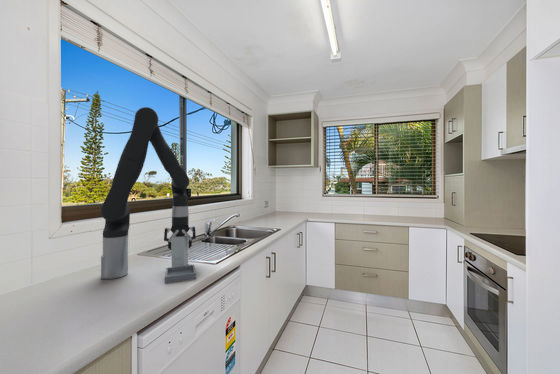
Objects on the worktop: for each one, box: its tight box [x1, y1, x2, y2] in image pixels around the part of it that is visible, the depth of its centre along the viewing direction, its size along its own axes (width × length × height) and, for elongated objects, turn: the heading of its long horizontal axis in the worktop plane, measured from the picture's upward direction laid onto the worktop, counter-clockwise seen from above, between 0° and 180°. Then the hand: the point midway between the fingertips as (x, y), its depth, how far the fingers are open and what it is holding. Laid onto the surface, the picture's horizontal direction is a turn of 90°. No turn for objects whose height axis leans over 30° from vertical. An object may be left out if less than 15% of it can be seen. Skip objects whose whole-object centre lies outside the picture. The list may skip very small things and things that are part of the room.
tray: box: [164, 264, 197, 284], centre depth 106 cm, size 12×12×2 cm
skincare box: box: [171, 235, 189, 267], centre depth 119 cm, size 8×6×15 cm
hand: (180, 248), depth 119 cm, fingers open, 8 cm apart
